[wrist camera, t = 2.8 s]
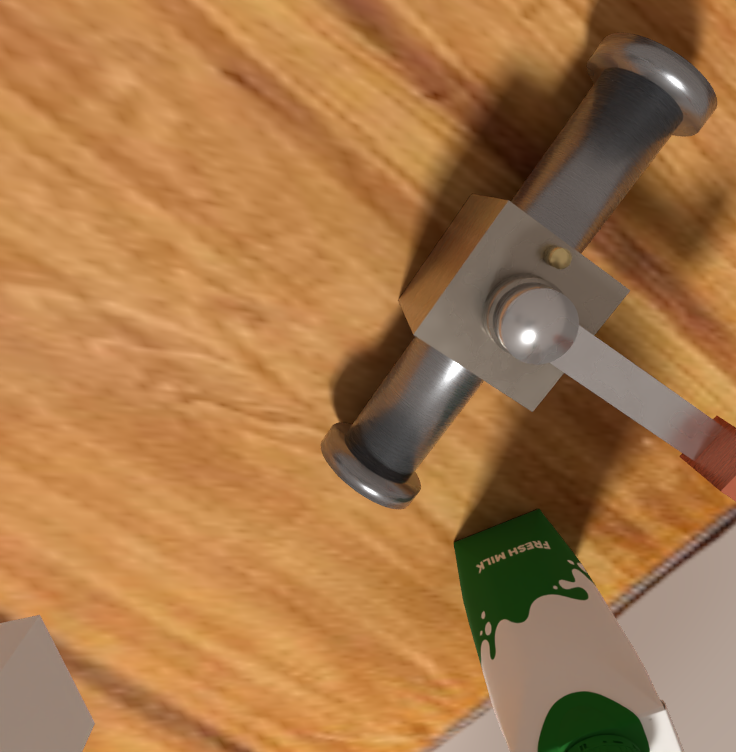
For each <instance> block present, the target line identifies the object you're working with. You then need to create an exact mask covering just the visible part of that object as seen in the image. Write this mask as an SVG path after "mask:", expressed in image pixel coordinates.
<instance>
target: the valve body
mask: <svg viewBox="0 0 736 752" xmlns="http://www.w3.org/2000/svg"><path fill="white" fill-rule="evenodd" d="M587 71H588V74H589V76H590V78H591V80H592V82H593V83H594V85H593V87H592V88H591V89H590V91H589V92H588V94H587V95H586V96H585V98H584V99H583V101H582V102H581V104H580V105H579V106H578V108H577V109H576V111H575V112H574V113H573V115H572V116H571V118H570V119H569V120H568V122H567V123H566V125H565V126H564V127H563V129H562V130H561V132H560V133H559V134H558V136H557V137H556V139H555V140H554V141H553V143H552V144H551V146H550V147H549V149H548V150H547V151H546V153H545V154H544V156H543V157H542V158H541V160H540V161H539V163H538V164H537V165H536V167H535V168H534V170H533V171H532V172H531V174H530V175H529V177H528V178H527V179H526V181H525V182H524V184H523V185H522V186H521V188H520V189H519V191H518V192H517V194H516V195H515V196H514V198H513V199H512V201H511V202H510V201H509V200H504V199H499V198H493V197H488V196H482V195H476V194H471V195H470V197H469V198H468V200H467V201H466V203H465V204H464V206H463V207H462V208H461V210H460V211H459V213H458V214H457V216H456V217H455V219H454V220H453V222H452V223H451V224H450V226H449V227H448V229H447V230H446V232H445V233H444V235H443V236H442V238H441V239H440V240H439V242H438V243H437V245H436V246H435V248H434V249H433V251H432V252H431V253H430V255H429V256H428V258H427V259H426V261H425V262H424V264H423V265H422V267H421V268H420V269H419V271H418V272H417V274H416V275H415V277H414V278H413V280H412V281H411V282H410V284H409V285H408V287H407V288H406V290H405V291H404V293H403V294H402V296H401V297H400V298H399V300H398V301H399V303H400V306H401V308H402V310H403V312H404V315H405V317H406V319H407V321H408V324H409V326H410V328H411V330H412V333H413V335H415V337H414V338H413V340H412V341H411V343H410V344H409V345H408V347H407V348H406V350H405V351H404V352H403V354H402V355H401V357H400V358H399V359H398V361H397V362H396V364H395V365H394V366H393V368H392V369H391V371H390V372H389V374H388V375H387V376H386V378H385V379H384V381H383V382H382V383H381V385H380V386H379V388H378V389H377V390H376V392H375V393H374V395H373V396H372V397H371V399H370V400H369V402H368V403H367V404H366V406H365V407H364V409H363V410H362V411H361V413H360V414H359V416H358V417H357V419H356V420H355V421H354V423H353V424H349V423H336V424H334V425H333V426H332V427H331V429H330V430H329V431H328V433H327V434H326V436H325V437H324V439H323V440H322V442H321V450H322V454H323V456H324V458H325V460H326V461H327V463H328V464H329V466H330V467H331V468H332V469H333V471H334V472H335V473H336V474H337V475H338V476H339V477H340V478H341V479H342V480H343V481H344V482H345V483H347V484H348V485H349V486H350V487H351V488H353V489H354V490H355V491H357V492H358V493H360V494H361V495H363V496H364V497H366V498H368V499H369V500H371V501H373V502H375V503H377V504H380V505H382V506H385V507H388V508H392V509H404V508H406V507H407V506H408V505H409V504H410V503H411V502H412V500H413V499H414V498H415V496H416V495H417V494H418V493H419V491H420V489H421V484H420V480H419V478H418V476H417V474H416V473H415V470H416V469H417V468H418V466H419V465H420V464H421V463H422V461H423V460H424V459H425V457H426V456H427V455H428V453H429V452H430V451H431V449H432V448H433V447H434V446H435V444H436V443H437V442H438V440H439V439H440V438H441V436H442V435H443V434H444V432H445V431H446V430H447V429H448V427H449V426H450V425H451V423H452V422H453V421H454V419H455V418H456V417H457V415H458V414H459V413H460V412H461V410H462V409H463V408H464V406H465V405H466V404H467V402H468V401H469V400H470V398H471V397H472V396H473V395H474V393H475V392H476V391H477V389H478V388H479V387H480V385H481V384H482V383H483V381H486V382H487V383H489V384H490V385H492V386H493V387H495V388H496V389H498V390H499V391H501V392H502V393H504V394H506V395H507V396H509V397H510V398H512V399H513V400H515V401H516V402H518V403H519V404H521V405H522V406H524V407H526V408H527V409H529V410H530V411H532V412H533V411H534V410H535V408H536V407H537V406H538V405H539V403H540V402H541V401H542V400H543V398H544V397H545V396H546V395H547V394H548V392H549V391H550V390H551V389H552V387H553V386H554V385H555V384H556V382H557V381H558V380H559V379H560V377H561V376H562V375H563V374H564V372H562V371H561V370H559V369H558V368H557V367H555V366H554V365H552V364H551V363H546V364H540V365H534V364H528V363H524V362H522V361H520V360H518V359H516V358H515V357H514V356H513V355H512V354H511V353H510V352H509V351H508V350H507V349H506V348H505V347H504V346H503V345H502V344H501V343H500V341H499V340H498V339H497V337H496V335H495V332H494V328H493V315H494V311H495V308H496V306H497V304H498V302H499V300H500V299H501V298H502V296H503V295H504V294H505V293H506V292H508V291H509V290H510V289H512V288H514V287H515V286H518V285H520V284H524V283H529V282H536V283H541V284H545V285H547V286H549V287H551V288H553V289H554V290H556V291H558V292H560V293H562V294H563V295H565V296H566V297H567V298H569V299H570V300H571V302H572V303H573V304H574V306H575V308H576V310H577V313H578V317H579V325H580V326H581V327H583V328H584V329H585V330H587V331H588V332H590V333H591V334H593V335H595V334H596V333H597V331H598V330H599V329H600V328H601V326H602V325H603V324H604V323H605V321H606V320H607V319H608V318H609V316H610V315H611V314H612V313H613V311H614V310H615V309H616V308H617V306H618V305H619V304H620V303H621V301H622V300H623V299H624V298H625V297H626V295H627V294H628V293H629V292H630V290H629V289H627V288H626V287H625V286H623V285H622V284H621V283H619V282H618V281H617V280H615V279H614V278H613V277H611V276H610V275H609V274H607V273H606V272H605V271H603V270H602V269H601V268H599V267H598V266H597V265H595V264H594V263H592V262H591V261H590V260H588V259H587V258H586V257H584V256H583V255H582V254H581V253H582V252H583V251H584V249H585V248H586V247H587V245H588V244H589V243H590V242H591V240H592V239H593V238H594V236H595V235H596V234H597V232H598V231H599V230H600V228H601V227H602V226H603V225H604V223H605V222H606V221H607V219H608V218H609V217H610V215H611V214H612V213H613V211H614V210H615V209H616V208H617V206H618V205H619V204H620V202H621V201H622V200H623V198H624V197H625V196H626V194H627V193H628V192H629V191H630V189H631V188H632V187H633V185H634V184H635V183H636V181H637V180H638V179H639V177H640V176H641V175H642V174H643V172H644V171H645V170H646V168H647V167H648V166H649V164H650V163H651V162H652V160H653V159H654V158H655V157H656V155H657V154H658V153H659V151H660V150H661V149H662V147H663V146H664V145H665V143H666V142H667V141H668V140H669V138H670V137H671V136H672V135H675V136H692V135H695V134H696V133H698V132H699V130H700V129H701V128H702V127H703V125H704V124H705V123H706V121H707V120H708V119H709V118H710V116H711V115H712V114H713V112H714V111H715V109H716V107H717V98H716V95H715V92H714V90H713V88H712V87H711V85H710V83H709V82H708V81H707V79H706V78H705V77H704V76H703V75H702V74H701V73H700V72H699V71H698V70H697V69H696V68H695V67H694V66H693V65H692V64H691V63H689V62H688V61H687V60H686V59H684V58H683V57H681V56H680V55H679V54H677V53H675V52H674V51H672V50H671V49H669V48H667V47H665V46H663V45H662V44H659V43H657V42H655V41H653V40H650V39H648V38H645V37H642V36H639V35H635V34H630V33H613V34H610V35H608V36H606V37H605V38H604V39H603V40H602V42H601V43H600V45H599V46H598V48H597V49H596V50H595V52H594V53H593V55H592V56H591V58H590V59H589V60H588V63H587Z"/></svg>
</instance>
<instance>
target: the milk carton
mask: <svg viewBox="0 0 736 752" xmlns="http://www.w3.org/2000/svg"><path fill="white" fill-rule="evenodd" d="M454 548H455V554H456V560H457V567H458V573H459V579H460V585H461V591H462V597H463V601H464V605H465V609H466V613H467V617H468V621H469V625H470V628H471V632H472V635H473V639H474V642H475V646H476V649H477V653H478V656H479V660H480V663H481V667H482V670H483V674H484V677H485V681H486V684H487V688H488V691H489V695H490V698H491V702H492V705H493V708H494V711H495V715H496V717H497V720H498V723H499V726H500V728H501V730H502V733H503V736H504V738H505V740H506V743H507V745H508V748H509V751H510V752H684V750H683V747H682V745H681V742H680V740H679V737H678V734H677V732H676V730H675V728H674V725H673V722H672V720H671V717H670V715H669V712H668V709H667V707H666V704H665V703H664V701H663V700H660V699H659V697H658V695H657V693H656V690H655V688H654V686H653V684H652V682H651V680H650V677H649V675H648V673H647V671H646V669H645V667H644V665H643V663H642V662H641V660H640V658H639V656H638V655H637V653H636V651H635V649H634V648H633V646H632V645H631V643H630V641H629V640H628V638H627V636H626V635H625V633H624V632H623V630H622V628H621V627H620V625H619V623H618V622H617V620H616V618H615V617H614V615H613V614H612V612H611V610H610V609H609V607H608V605H607V604H606V602H605V601H604V599H603V597H602V596H601V594H600V592H599V591H598V589H597V588H596V586H595V584H594V583H593V581H592V579H591V578H590V576H589V575H588V573H587V572H586V570H585V568H584V567H583V565H582V564H581V563H580V561H579V560H578V558H577V557H576V556H575V554H574V553H573V551H572V550H571V549H570V548H569V546H568V545H567V544H566V542H565V541H564V540H563V539H562V537H561V536H560V535H559V533H558V532H557V531H556V530H555V528H554V527H553V526H552V524H551V523H550V522H549V521H548V519H547V518H546V517H545V516H544V514H543V513H542V512H541V510H540V509H537V510H535V511H532V512H530V513H527V514H525V515H522V516H520V517H517V518H514V519H512V520H509V521H507V522H504V523H502V524H499V525H497V526H494V527H492V528H489V529H487V530H484V531H482V532H479V533H477V534H474V535H472V536H469V537H467V538H464V539H462V540H459V541H457V542H454Z"/></svg>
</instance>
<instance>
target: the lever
mask: <svg viewBox="0 0 736 752" xmlns="http://www.w3.org/2000/svg"><path fill="white" fill-rule="evenodd" d="M493 328H494V332H495V335H496V337H497V339H498V340H499V341H500V343H501V344H502V345H503V346H504V347H505V348H506V349H507V350H508V351H509V352H510V353H511V354H512V355H513V356H514V357H515V358H516V359H518V360H520V361H522V362H524V363H528V364H534V365H540V364H546V363H551V364H552V365H554V366H555V367H557V368H558V369H559V370H561V371H562V372H564V373H565V374H567V375H568V376H570V377H571V378H573V379H574V380H576V381H577V382H579V383H580V384H582V385H583V386H584V387H586V388H587V389H589V390H590V391H592V392H593V393H595V394H596V395H598V396H599V397H601V398H602V399H604V400H605V401H607V402H608V403H610V404H611V405H612V406H614V407H615V408H617V409H618V410H620V411H621V412H623V413H624V414H626V415H627V416H629V417H630V418H632V419H633V420H635V421H636V422H638V423H639V424H640V425H642V426H643V427H645V428H646V429H648V430H649V431H651V432H652V433H654V434H655V435H657V436H658V437H660V438H661V439H663V440H664V441H665V442H667V443H668V444H670V445H671V446H673V447H674V448H676V449H677V450H679V451H680V452H682V454H681V455H680V457H681V458H682V459H683V460H684V461H685V462H687V463H688V464H689V465H690V466H691V467H693V468H694V469H695V470H696V471H697V472H699V473H700V474H701V475H702V476H703V477H704V478H706V479H707V480H708V481H709V482H710V483H712V484H713V485H714V486H715V487H716V488H717V489H719V490H720V491H721V492H723V493H724V494H726V495H727V496H729V497H730V498H732V499H733V500H734V501H736V428H735V427H734V426H732V425H731V424H729V423H728V422H726V421H724V420H723V419H721V418H720V417H718V416H716V417H715V418H714V419H711V418H710V417H708V416H707V415H706V414H704V413H703V412H701V411H700V410H699V409H697V408H696V407H694V406H693V405H691V404H690V403H689V402H687V401H686V400H684V399H683V398H682V397H680V396H679V395H677V394H676V393H675V392H673V391H672V390H670V389H669V388H667V387H666V386H665V385H663V384H662V383H660V382H659V381H658V380H656V379H655V378H653V377H652V376H650V375H649V374H648V373H646V372H645V371H643V370H642V369H641V368H639V367H638V366H636V365H635V364H634V363H632V362H631V361H629V360H628V359H626V358H625V357H624V356H622V355H621V354H619V353H618V352H617V351H615V350H614V349H612V348H611V347H609V346H608V345H607V344H605V343H604V342H602V341H601V340H600V339H598V338H597V337H595V336H594V335H593V334H591V333H590V332H588V331H587V330H585V329H584V328H583V327H581V326H580V325H579V317H578V313H577V310H576V308H575V306H574V304H573V303H572V302H571V300H570V299H569V298H567V297H566V296H565V295H563V294H562V293H560V292H558V291H556V290H554V289H553V288H551V287H549V286H547V285H545V284H541V283H536V282H529V283H524V284H520V285H518V286H515V287H514V288H512V289H510V290H509V291H508V292H506V293H505V294H504V295H503V296H502V298H501V299H500V300H499V302H498V304H497V306H496V308H495V311H494V315H493Z"/></svg>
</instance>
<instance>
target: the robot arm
mask: <svg viewBox="0 0 736 752" xmlns="http://www.w3.org/2000/svg"><path fill="white" fill-rule="evenodd" d="M94 724H95V723H94V721H93V719H92V717H91V715H90V713H89V711H88V709H87V707H86V705H85V703H84V701H83V699H82V697H81V695H80V693H79V691H78V689H77V687H76V685H75V683H74V681H73V679H72V677H71V675H70V673H69V672H68V670H67V668H66V666H65V664H64V662H63V660H62V658H61V656H60V654H59V652H58V650H57V648H56V646H55V644H54V642H53V640H52V638H51V636H50V634H49V632H48V630H47V628H46V626H45V624H44V622H43V620H42V618H41V616H40V615H37V616H32V617H28V618H23V619H18V620H14V621H9V622H5V623H0V752H82V751H83V748H84V746H85V744H86V742H87V740H88V737H89V735H90V733H91V731H92V728H93V726H94Z"/></svg>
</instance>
